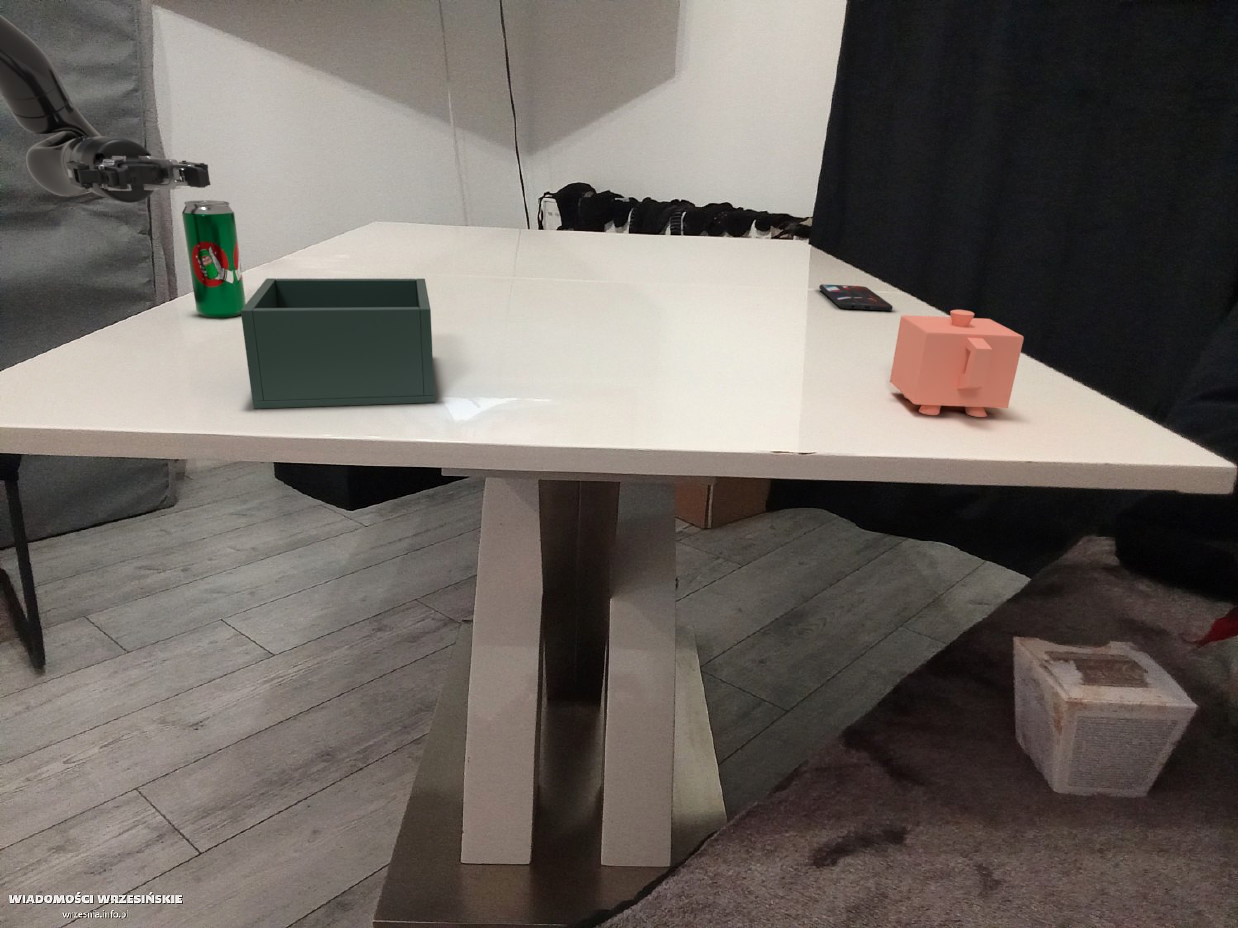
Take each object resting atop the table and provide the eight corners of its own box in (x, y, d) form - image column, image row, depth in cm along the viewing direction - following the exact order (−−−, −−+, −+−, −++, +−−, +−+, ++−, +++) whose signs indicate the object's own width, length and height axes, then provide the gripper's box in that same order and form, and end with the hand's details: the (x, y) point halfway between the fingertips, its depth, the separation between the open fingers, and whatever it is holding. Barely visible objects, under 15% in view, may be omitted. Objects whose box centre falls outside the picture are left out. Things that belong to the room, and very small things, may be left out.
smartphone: (841, 304, 110) (818, 284, 124) (840, 309, 110) (817, 288, 124) (895, 306, 110) (866, 286, 124) (894, 311, 110) (865, 290, 124)
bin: (253, 409, 63) (240, 310, 61) (276, 362, 76) (266, 278, 73) (434, 402, 67) (430, 308, 64) (428, 359, 79) (424, 278, 76)
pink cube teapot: (960, 385, 78) (977, 298, 75) (1016, 428, 67) (1039, 327, 64) (877, 382, 78) (892, 294, 75) (920, 424, 67) (939, 323, 64)
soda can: (225, 307, 96) (210, 199, 91) (256, 313, 94) (243, 202, 89) (186, 314, 91) (169, 201, 87) (219, 321, 89) (203, 205, 85)
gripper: (41, 135, 98) (87, 142, 88) (168, 138, 108) (222, 144, 98) (55, 201, 101) (101, 215, 91) (177, 198, 111) (230, 210, 101)
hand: (163, 178), depth 94 cm, fingers open, 8 cm apart
